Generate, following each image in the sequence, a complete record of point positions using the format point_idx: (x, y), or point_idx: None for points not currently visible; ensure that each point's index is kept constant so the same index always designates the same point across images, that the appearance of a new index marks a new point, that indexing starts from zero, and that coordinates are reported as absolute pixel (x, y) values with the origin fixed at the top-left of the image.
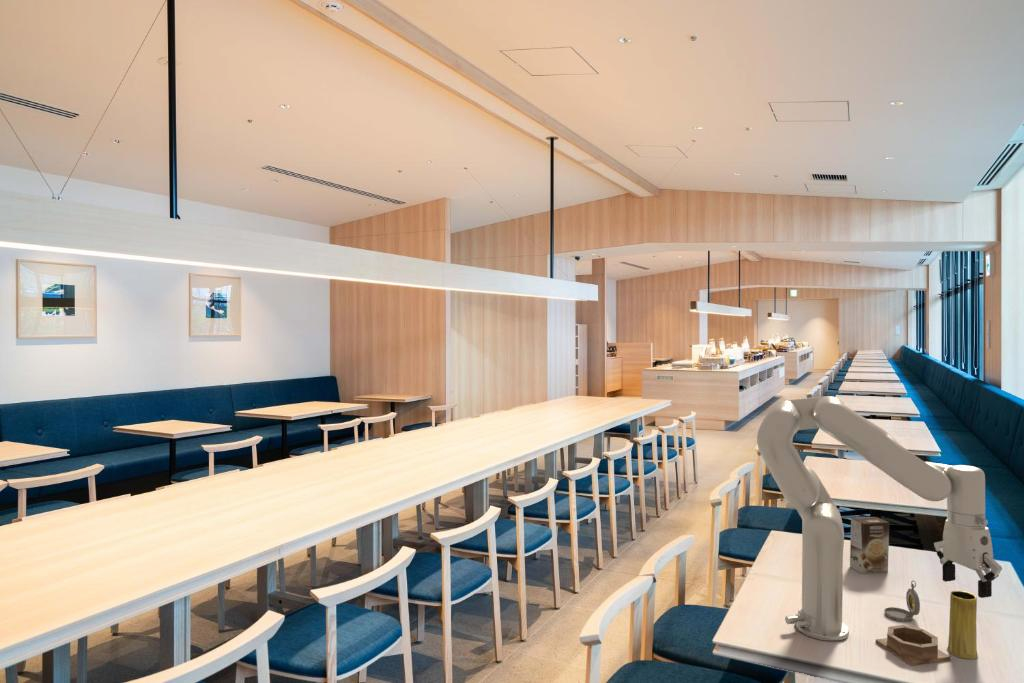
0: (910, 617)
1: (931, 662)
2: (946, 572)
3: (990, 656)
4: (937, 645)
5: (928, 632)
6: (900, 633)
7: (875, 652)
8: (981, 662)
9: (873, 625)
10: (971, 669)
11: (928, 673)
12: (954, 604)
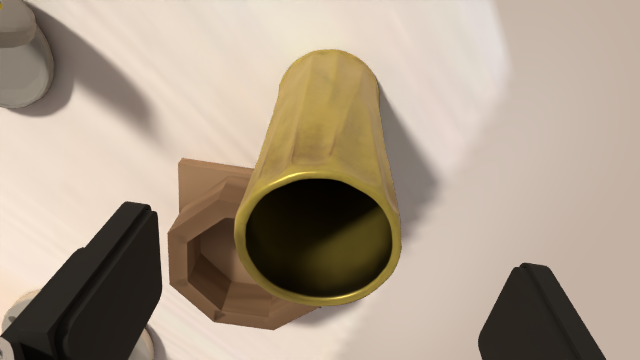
0: (40, 43)
1: None
2: (123, 354)
3: (394, 19)
4: None
5: None
6: (193, 244)
7: None
8: (404, 101)
9: (74, 201)
10: (415, 176)
11: None
12: (309, 263)
